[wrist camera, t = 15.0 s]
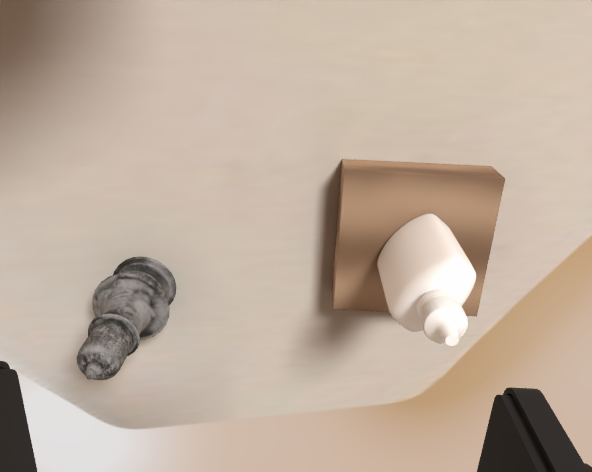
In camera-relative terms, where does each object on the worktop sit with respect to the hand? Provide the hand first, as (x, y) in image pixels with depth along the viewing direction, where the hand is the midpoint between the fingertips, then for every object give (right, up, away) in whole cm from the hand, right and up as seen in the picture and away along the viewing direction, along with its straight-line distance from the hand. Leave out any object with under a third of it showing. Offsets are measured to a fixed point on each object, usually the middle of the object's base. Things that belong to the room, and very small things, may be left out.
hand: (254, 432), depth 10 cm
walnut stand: (+9, +4, +31) cm, 33 cm away
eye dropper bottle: (+9, +3, +28) cm, 30 cm away
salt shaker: (-12, 0, +34) cm, 36 cm away
